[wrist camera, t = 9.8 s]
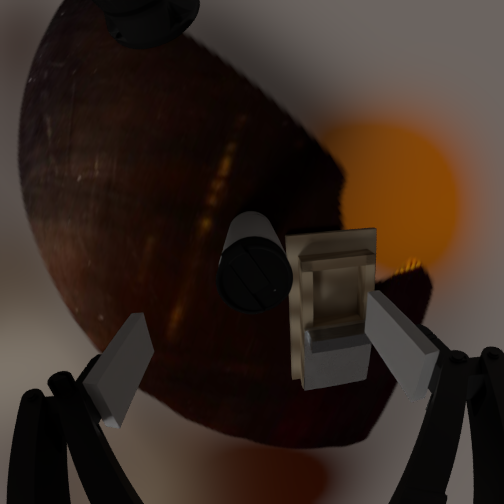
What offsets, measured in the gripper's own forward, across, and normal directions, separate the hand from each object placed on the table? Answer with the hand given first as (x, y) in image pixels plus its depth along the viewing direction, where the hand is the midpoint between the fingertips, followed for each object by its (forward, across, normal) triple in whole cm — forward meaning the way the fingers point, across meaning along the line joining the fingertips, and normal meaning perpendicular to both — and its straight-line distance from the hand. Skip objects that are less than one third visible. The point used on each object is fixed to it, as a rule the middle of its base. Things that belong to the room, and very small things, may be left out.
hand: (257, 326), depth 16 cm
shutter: (+22, +12, -20) cm, 32 cm away
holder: (+27, +12, -14) cm, 32 cm away
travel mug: (+27, 0, 0) cm, 27 cm away
